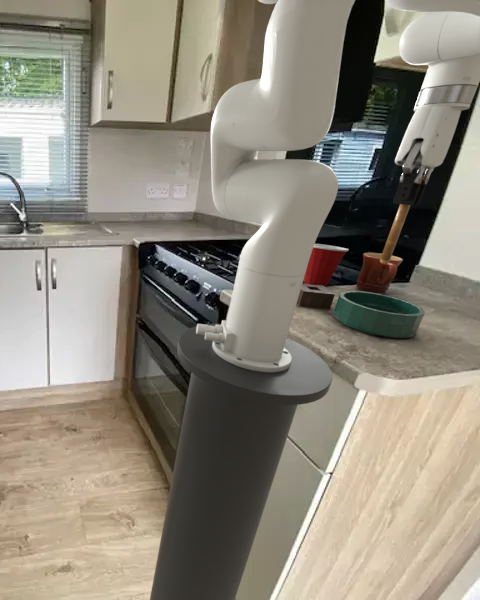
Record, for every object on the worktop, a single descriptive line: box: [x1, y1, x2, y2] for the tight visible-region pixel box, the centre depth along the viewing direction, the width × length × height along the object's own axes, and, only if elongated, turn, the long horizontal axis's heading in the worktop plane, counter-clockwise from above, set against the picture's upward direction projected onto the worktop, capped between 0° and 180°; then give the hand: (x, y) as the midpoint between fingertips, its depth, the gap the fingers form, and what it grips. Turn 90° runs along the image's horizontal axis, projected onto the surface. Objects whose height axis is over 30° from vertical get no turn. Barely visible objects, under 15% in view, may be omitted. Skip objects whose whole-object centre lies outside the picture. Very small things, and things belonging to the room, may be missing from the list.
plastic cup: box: [303, 243, 349, 288], centre depth 105 cm, size 11×11×12 cm
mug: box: [355, 252, 404, 295], centre depth 99 cm, size 12×9×10 cm
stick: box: [380, 175, 423, 264], centre depth 72 cm, size 2×2×18 cm
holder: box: [296, 283, 336, 310], centre depth 90 cm, size 7×7×4 cm
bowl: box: [333, 290, 426, 339], centre depth 78 cm, size 15×15×6 cm
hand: (405, 203), depth 71 cm, fingers closed on stick, 2 cm apart
